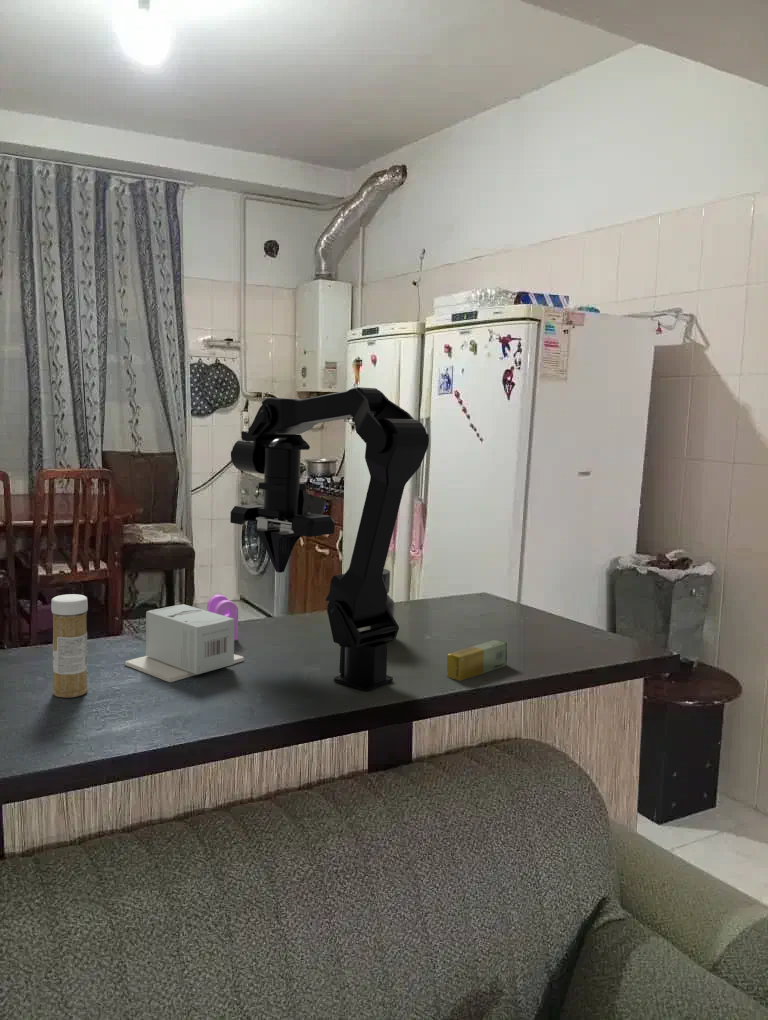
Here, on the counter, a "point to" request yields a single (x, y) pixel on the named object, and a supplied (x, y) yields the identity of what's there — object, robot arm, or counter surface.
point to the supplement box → (190, 638)
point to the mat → (164, 668)
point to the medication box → (477, 660)
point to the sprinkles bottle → (69, 645)
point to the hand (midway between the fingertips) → (280, 572)
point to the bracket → (224, 610)
